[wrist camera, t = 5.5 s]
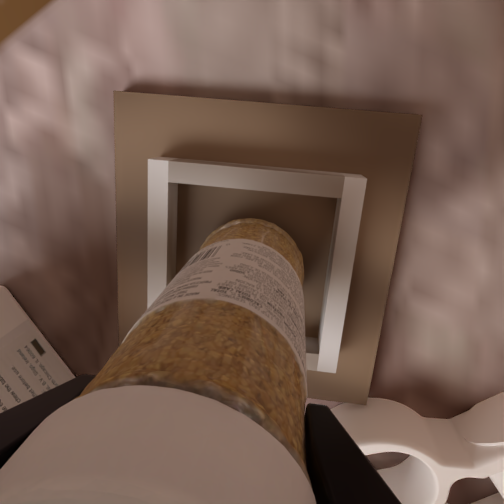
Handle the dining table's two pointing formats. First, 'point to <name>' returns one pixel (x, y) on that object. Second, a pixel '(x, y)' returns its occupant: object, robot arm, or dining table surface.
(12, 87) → the dining table surface
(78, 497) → the sprinkles bottle
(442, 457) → the white compartment tray
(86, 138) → the dining table surface
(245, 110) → the brown flat square frame
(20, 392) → the container
